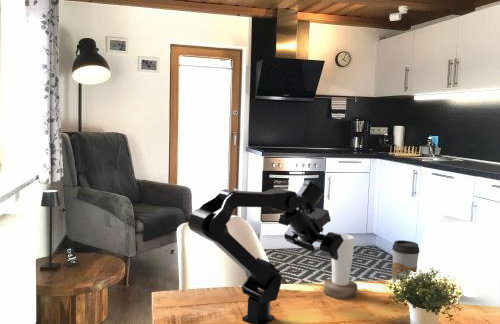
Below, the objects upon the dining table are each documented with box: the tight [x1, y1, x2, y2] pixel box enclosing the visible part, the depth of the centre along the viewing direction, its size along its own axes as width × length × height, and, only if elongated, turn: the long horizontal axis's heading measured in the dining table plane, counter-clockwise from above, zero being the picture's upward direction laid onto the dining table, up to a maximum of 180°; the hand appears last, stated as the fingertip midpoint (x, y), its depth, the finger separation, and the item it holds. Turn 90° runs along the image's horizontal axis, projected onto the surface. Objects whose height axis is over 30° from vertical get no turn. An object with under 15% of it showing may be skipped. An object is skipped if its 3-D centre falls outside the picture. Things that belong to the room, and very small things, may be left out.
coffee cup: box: [391, 239, 420, 284], centre depth 146 cm, size 8×8×15 cm
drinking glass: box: [331, 233, 355, 286], centre depth 140 cm, size 7×7×15 cm
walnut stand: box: [323, 277, 358, 301], centre depth 141 cm, size 10×10×3 cm
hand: (325, 254), depth 135 cm, fingers open, 9 cm apart
